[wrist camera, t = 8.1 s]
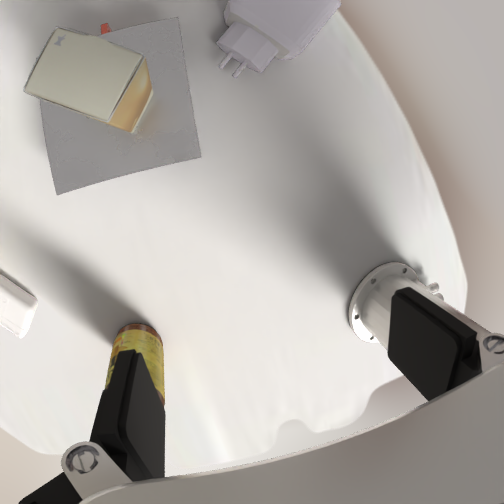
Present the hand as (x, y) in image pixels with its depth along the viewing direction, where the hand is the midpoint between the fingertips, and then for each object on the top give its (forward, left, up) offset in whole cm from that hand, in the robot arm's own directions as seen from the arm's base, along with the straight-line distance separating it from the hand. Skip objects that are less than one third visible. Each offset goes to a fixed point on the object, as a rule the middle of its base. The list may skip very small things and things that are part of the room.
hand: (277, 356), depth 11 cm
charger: (-10, -20, -26) cm, 34 cm away
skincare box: (+6, -13, -21) cm, 25 cm away
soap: (+28, +4, -26) cm, 38 cm away
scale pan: (+7, -14, -24) cm, 29 cm away
